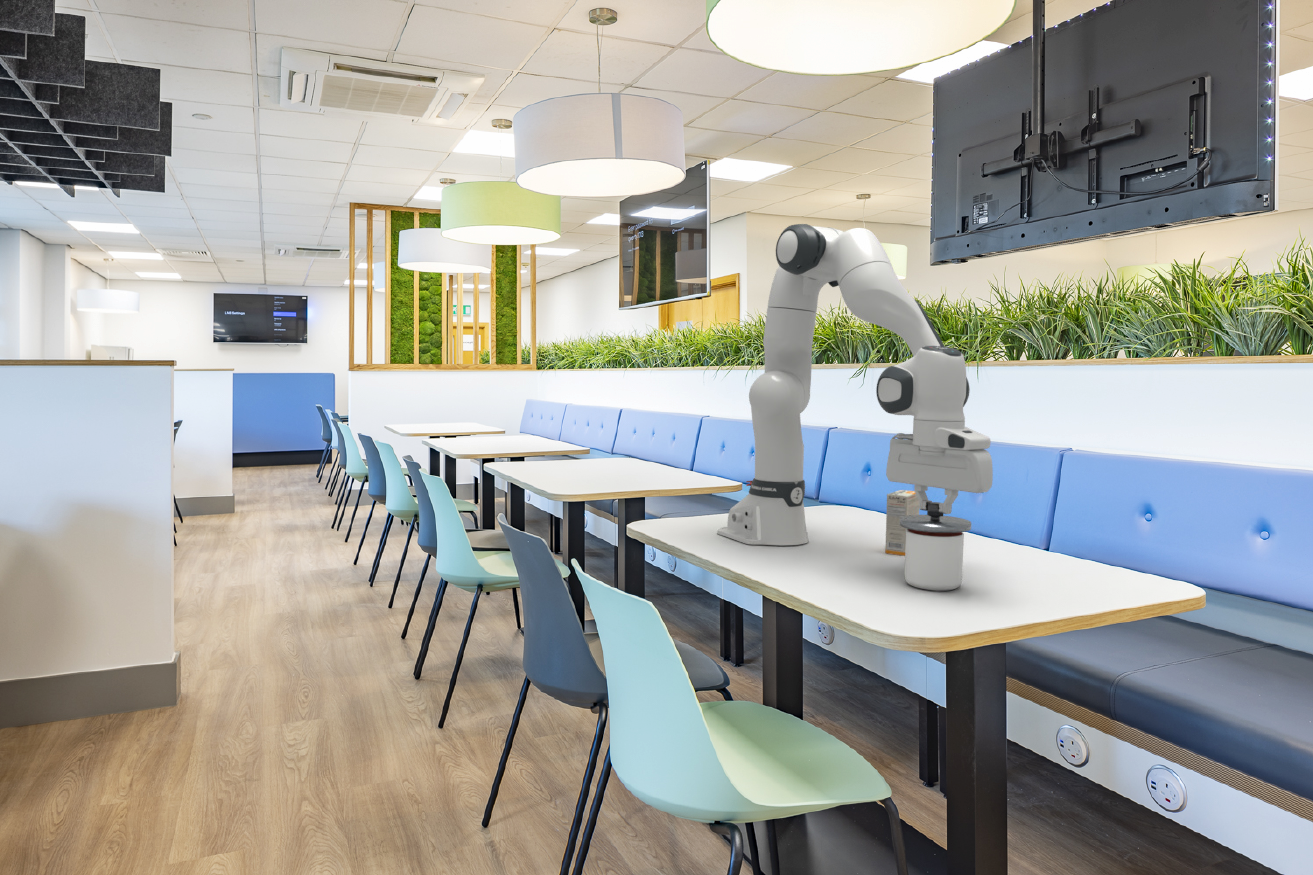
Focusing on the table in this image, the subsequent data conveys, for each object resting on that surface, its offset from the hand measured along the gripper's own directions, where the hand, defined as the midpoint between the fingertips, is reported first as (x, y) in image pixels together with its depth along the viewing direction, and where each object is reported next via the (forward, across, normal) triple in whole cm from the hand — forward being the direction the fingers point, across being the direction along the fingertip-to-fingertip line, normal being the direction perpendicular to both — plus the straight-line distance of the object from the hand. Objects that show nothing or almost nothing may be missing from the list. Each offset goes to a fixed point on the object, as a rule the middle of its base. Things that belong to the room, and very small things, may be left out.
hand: (935, 511), depth 153 cm
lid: (+3, 0, 0) cm, 3 cm away
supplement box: (+14, -22, +20) cm, 33 cm away
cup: (+14, 0, 0) cm, 14 cm away
